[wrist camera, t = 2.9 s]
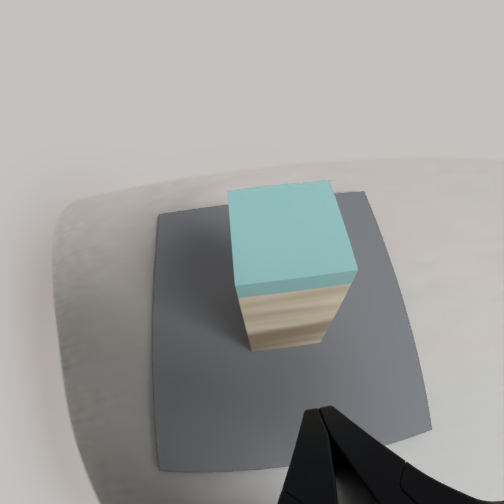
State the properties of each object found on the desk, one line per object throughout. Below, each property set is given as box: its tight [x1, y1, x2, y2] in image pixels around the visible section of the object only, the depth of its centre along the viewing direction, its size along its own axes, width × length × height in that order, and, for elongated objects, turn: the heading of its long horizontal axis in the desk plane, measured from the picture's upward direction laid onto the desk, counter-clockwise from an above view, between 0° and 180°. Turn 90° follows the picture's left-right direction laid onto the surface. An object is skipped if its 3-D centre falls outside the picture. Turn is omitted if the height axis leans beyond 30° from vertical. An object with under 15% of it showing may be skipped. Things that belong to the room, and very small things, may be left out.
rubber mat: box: [153, 192, 432, 472], centre depth 19 cm, size 18×16×1 cm
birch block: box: [228, 181, 358, 352], centre depth 15 cm, size 4×4×9 cm
